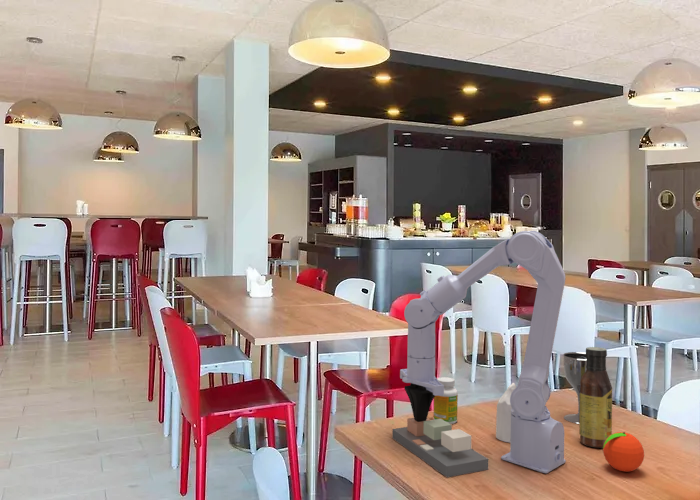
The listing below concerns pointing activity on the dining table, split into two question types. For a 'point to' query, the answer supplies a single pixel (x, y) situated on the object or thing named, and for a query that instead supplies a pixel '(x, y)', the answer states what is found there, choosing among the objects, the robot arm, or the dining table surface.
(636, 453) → the clementine
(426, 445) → the grey key panel base
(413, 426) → the terracotta key
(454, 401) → the supplement bottle
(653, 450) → the dining table surface
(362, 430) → the dining table surface
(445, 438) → the cream key
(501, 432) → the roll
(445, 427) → the sage key
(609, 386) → the sauce bottle
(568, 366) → the wine glass
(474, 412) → the dining table surface
